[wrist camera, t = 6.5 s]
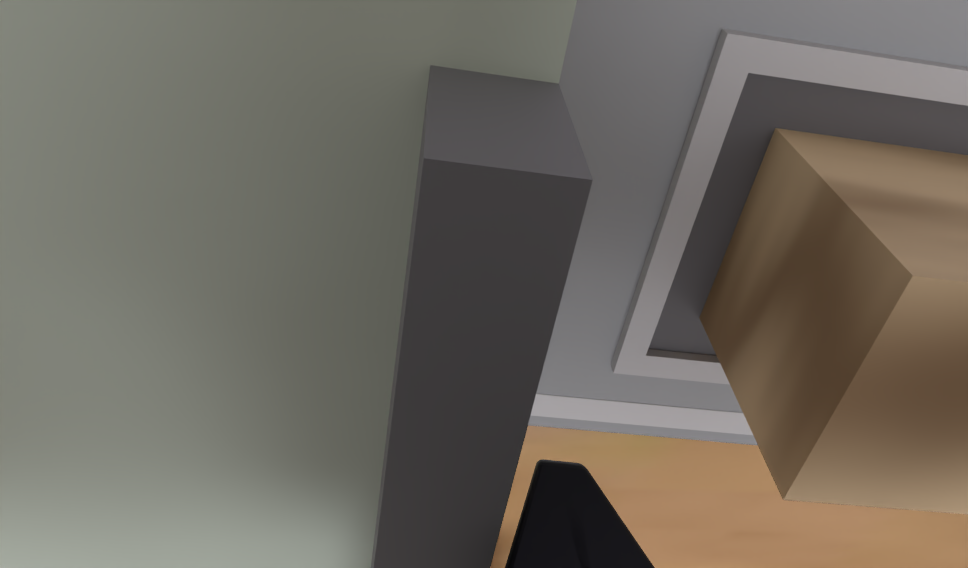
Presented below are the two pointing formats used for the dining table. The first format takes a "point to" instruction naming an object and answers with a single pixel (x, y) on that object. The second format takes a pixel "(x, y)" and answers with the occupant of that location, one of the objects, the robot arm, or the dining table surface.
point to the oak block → (851, 321)
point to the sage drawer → (276, 276)
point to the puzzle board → (713, 175)
